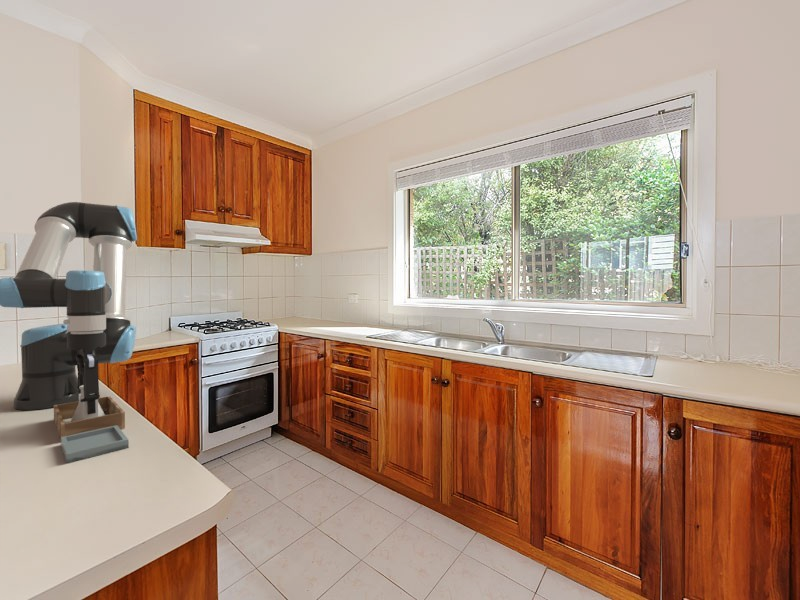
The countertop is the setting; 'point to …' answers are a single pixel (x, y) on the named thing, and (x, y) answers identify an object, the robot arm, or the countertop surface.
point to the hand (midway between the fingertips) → (88, 421)
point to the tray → (93, 443)
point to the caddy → (92, 423)
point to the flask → (79, 410)
